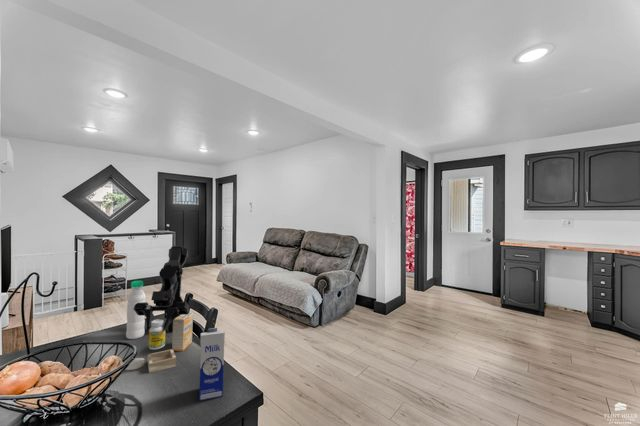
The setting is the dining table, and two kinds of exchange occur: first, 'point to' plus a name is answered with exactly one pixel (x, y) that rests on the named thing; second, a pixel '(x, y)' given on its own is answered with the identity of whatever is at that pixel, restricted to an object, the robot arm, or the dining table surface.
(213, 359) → the milk carton
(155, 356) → the wooden tray
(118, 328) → the dining table surface
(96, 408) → the dining table surface
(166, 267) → the robot arm
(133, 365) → the coaster
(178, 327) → the supplement box
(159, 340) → the supplement bottle
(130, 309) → the water bottle
